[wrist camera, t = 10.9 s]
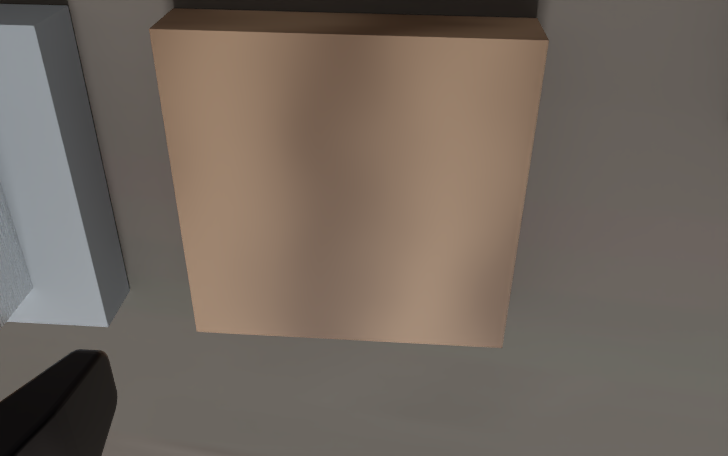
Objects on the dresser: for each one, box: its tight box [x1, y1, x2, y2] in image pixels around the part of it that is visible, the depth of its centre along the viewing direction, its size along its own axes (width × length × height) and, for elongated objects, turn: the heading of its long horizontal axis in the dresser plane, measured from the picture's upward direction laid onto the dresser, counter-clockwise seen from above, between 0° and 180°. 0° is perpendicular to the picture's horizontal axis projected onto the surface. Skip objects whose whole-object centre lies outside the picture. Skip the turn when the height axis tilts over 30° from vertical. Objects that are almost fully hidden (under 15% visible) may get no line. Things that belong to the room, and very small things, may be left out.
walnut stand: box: [149, 8, 549, 348], centre depth 21 cm, size 10×10×2 cm
